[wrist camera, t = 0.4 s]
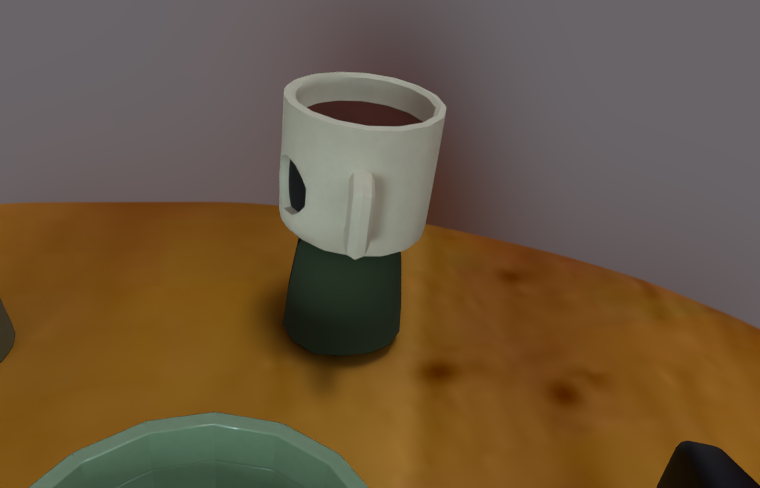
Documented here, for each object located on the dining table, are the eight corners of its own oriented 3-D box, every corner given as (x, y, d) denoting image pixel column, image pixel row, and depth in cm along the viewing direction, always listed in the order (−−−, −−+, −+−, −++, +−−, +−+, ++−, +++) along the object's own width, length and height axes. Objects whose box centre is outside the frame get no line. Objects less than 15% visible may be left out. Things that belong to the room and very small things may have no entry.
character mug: (284, 264, 38) (294, 51, 31) (399, 273, 39) (434, 67, 32) (261, 398, 29) (268, 140, 22) (412, 407, 30) (465, 159, 23)
